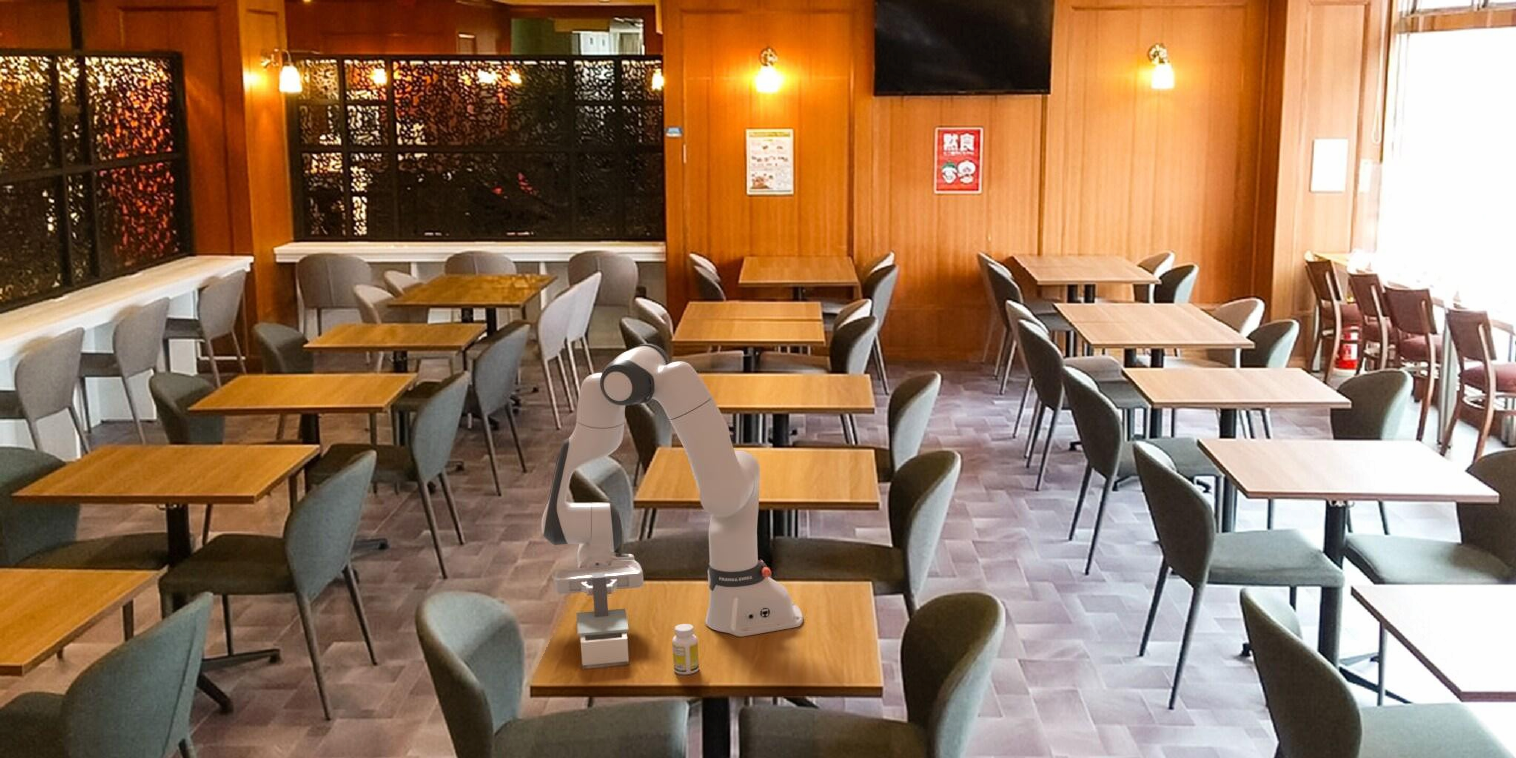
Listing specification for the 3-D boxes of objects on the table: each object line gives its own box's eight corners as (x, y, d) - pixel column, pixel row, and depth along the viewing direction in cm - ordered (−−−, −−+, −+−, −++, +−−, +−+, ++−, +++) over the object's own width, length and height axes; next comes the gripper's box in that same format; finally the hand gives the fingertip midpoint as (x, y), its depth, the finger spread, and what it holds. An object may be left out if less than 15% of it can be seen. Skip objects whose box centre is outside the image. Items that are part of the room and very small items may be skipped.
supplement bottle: (697, 663, 311) (695, 621, 309) (700, 673, 306) (698, 630, 303) (672, 666, 310) (670, 623, 308) (675, 676, 305) (673, 633, 302)
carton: (581, 648, 321) (579, 623, 319) (625, 644, 322) (624, 619, 321) (582, 668, 310) (580, 642, 309) (628, 664, 311) (627, 638, 310)
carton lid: (576, 615, 323) (573, 574, 321) (625, 610, 325) (623, 570, 323) (578, 636, 312) (575, 593, 310) (628, 631, 313) (626, 589, 311)
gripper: (551, 560, 331) (552, 582, 318) (640, 553, 334) (644, 574, 321) (553, 586, 333) (553, 608, 319) (641, 579, 335) (645, 600, 322)
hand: (600, 591), depth 320 cm, fingers closed on carton lid, 3 cm apart
